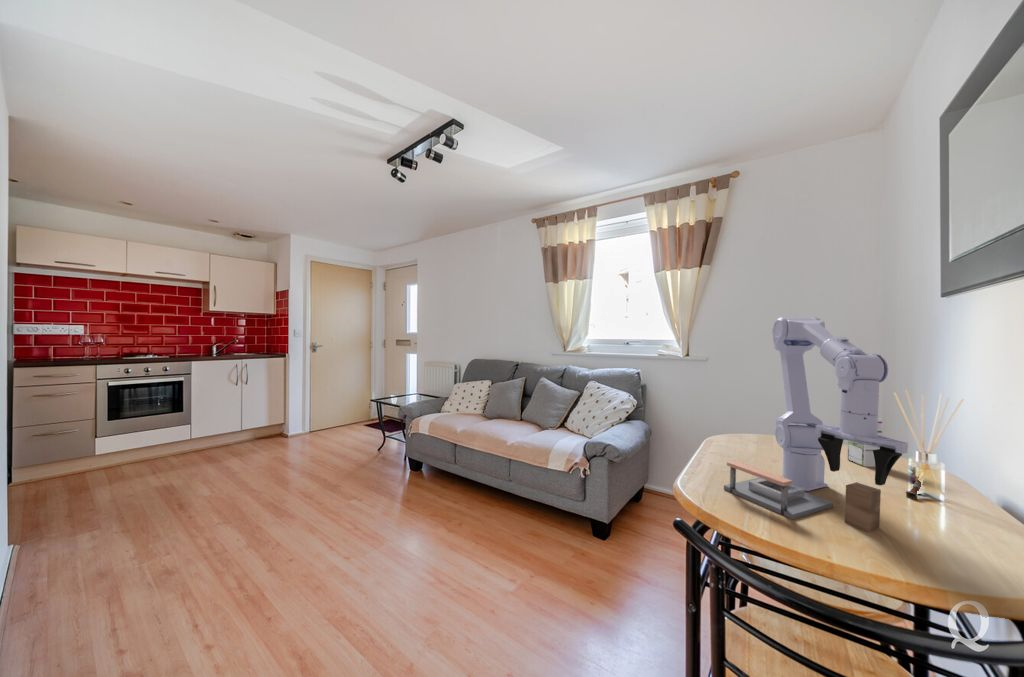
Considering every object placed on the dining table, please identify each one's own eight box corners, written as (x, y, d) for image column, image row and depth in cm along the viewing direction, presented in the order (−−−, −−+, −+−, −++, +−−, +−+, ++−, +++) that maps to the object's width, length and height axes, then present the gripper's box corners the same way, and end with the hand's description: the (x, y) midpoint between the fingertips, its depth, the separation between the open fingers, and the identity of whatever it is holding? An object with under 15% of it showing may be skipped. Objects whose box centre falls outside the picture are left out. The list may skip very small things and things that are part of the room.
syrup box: (882, 467, 111) (884, 419, 111) (862, 466, 111) (864, 418, 111) (865, 460, 117) (866, 414, 117) (846, 460, 117) (847, 414, 117)
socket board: (762, 480, 100) (763, 452, 100) (832, 506, 85) (834, 474, 85) (721, 489, 94) (721, 460, 94) (789, 520, 79) (790, 485, 79)
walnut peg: (855, 519, 80) (856, 482, 80) (879, 528, 76) (880, 489, 76) (844, 522, 78) (846, 485, 78) (868, 532, 75) (870, 492, 75)
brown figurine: (929, 489, 94) (927, 474, 93) (918, 508, 90) (916, 493, 89) (918, 487, 95) (916, 472, 94) (907, 505, 92) (905, 490, 91)
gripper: (807, 406, 82) (805, 467, 83) (895, 422, 69) (892, 494, 69) (826, 404, 85) (824, 463, 85) (914, 419, 72) (911, 488, 72)
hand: (856, 477), depth 78 cm, fingers open, 7 cm apart
